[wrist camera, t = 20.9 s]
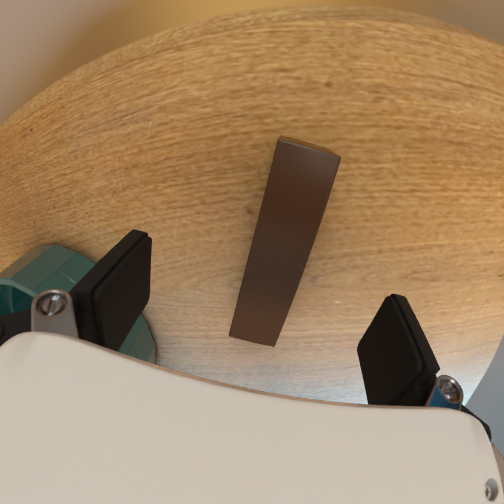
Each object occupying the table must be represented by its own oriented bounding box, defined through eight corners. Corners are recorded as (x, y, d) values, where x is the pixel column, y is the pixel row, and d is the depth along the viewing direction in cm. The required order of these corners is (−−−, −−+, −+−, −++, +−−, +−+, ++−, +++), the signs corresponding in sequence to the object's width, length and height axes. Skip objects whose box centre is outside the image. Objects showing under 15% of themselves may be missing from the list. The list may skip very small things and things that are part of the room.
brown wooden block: (279, 135, 15) (278, 138, 12) (330, 149, 15) (341, 157, 12) (236, 304, 21) (228, 336, 18) (276, 314, 21) (274, 347, 18)
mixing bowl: (12, 223, 20) (-33, 252, 14) (160, 273, 20) (119, 329, 14) (42, 345, 28) (16, 377, 22) (158, 397, 28) (139, 443, 22)
